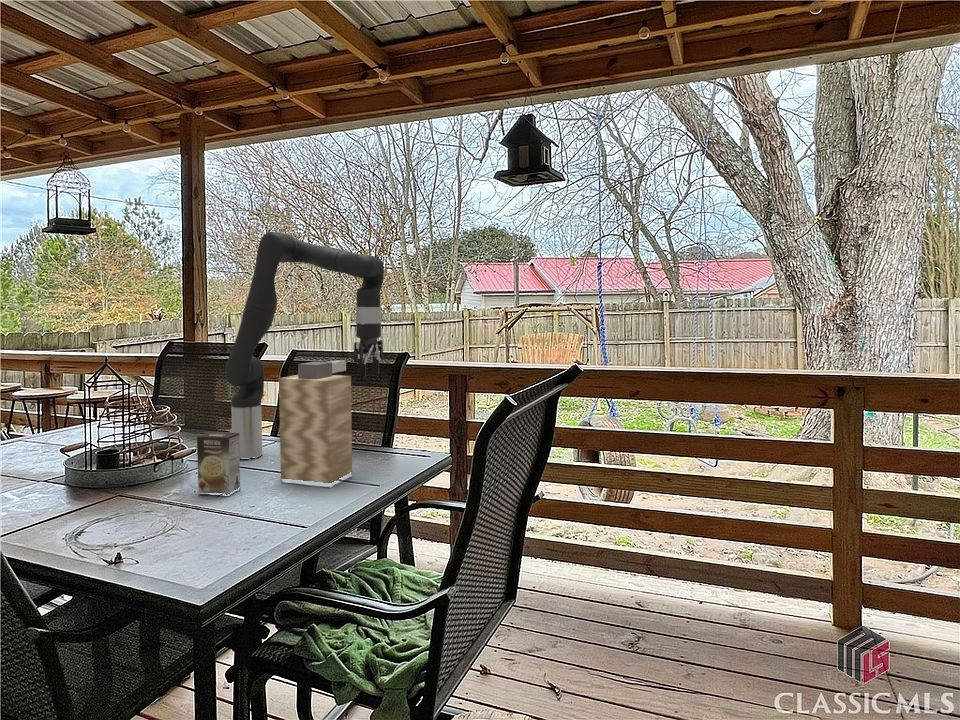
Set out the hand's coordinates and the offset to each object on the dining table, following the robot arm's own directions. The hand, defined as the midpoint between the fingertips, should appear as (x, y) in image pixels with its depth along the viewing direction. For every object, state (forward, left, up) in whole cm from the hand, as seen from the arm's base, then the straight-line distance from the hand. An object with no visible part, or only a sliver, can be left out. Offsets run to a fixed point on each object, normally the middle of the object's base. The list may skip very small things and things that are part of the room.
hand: (369, 375), depth 185 cm
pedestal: (-9, -15, -29) cm, 34 cm away
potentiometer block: (-9, -10, +1) cm, 13 cm away
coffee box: (-27, -34, -30) cm, 53 cm away
